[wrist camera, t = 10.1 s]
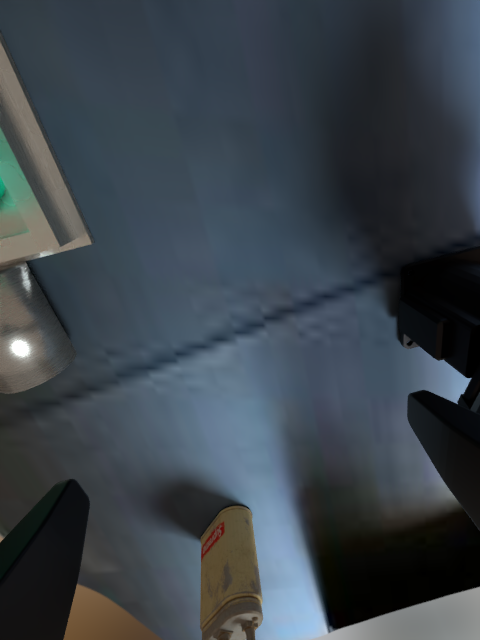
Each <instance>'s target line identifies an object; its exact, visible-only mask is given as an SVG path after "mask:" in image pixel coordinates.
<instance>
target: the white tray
mask: <svg viewBox="0 0 480 640" xmlns="http://www.w3.org/2000/svg"><path fill="white" fill-rule="evenodd" d="M0 177H1V179H2V181H3V183H4V185H5V189H4V195H3V196H2V197H1V198H0V392H1V393H4V394H11V393H17V392H21V391H24V390H27V389H30V388H33V387H35V386H37V385H40V384H42V383H44V382H46V381H47V380H49V379H51V378H53V377H54V376H56V375H57V374H59V373H60V372H62V371H63V370H64V369H66V368H67V367H68V366H69V365H70V364H71V363H72V362H73V360H74V359H75V357H76V354H77V353H76V350H75V349H74V347H73V345H72V343H71V341H70V340H69V338H68V336H67V334H66V333H65V331H64V329H63V327H62V326H61V324H60V322H59V320H58V319H57V317H56V315H55V313H54V311H53V310H52V308H51V306H50V304H49V303H48V301H47V299H46V297H45V296H44V294H43V292H42V290H41V288H40V287H39V285H38V283H37V281H36V280H35V278H34V276H33V274H32V273H31V271H30V269H29V267H28V266H27V264H26V262H25V261H28V260H32V259H36V258H40V257H44V256H48V255H51V254H55V253H59V252H63V251H67V250H71V249H75V248H78V247H82V246H86V245H90V244H93V243H94V242H95V241H94V239H93V237H92V235H91V232H90V230H89V228H88V226H87V223H86V221H85V219H84V217H83V215H82V212H81V210H80V208H79V206H78V203H77V201H76V199H75V197H74V194H73V192H72V190H71V188H70V185H69V183H68V181H67V179H66V176H65V174H64V172H63V170H62V168H61V165H60V163H59V161H58V159H57V156H56V154H55V152H54V150H53V147H52V145H51V143H50V141H49V138H48V136H47V134H46V132H45V129H44V127H43V125H42V123H41V121H40V118H39V116H38V114H37V112H36V109H35V107H34V105H33V103H32V100H31V98H30V96H29V94H28V91H27V89H26V87H25V85H24V83H23V80H22V78H21V76H20V74H19V71H18V69H17V67H16V65H15V62H14V60H13V58H12V56H11V53H10V51H9V49H8V47H7V44H6V42H5V40H4V38H3V36H2V33H1V31H0Z"/></svg>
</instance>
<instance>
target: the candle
mask: <svg viewBox="0 0 480 640" xmlns="http://www.w3.org/2000/svg"><path fill="white" fill-rule="evenodd" d="M4 189H5V185H4V183H3V181H2V179H1V177H0V198H1V197H2V196H3V195H4Z"/></svg>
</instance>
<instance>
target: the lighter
mask: <svg viewBox="0 0 480 640" xmlns="http://www.w3.org/2000/svg"><path fill="white" fill-rule="evenodd" d="M262 601H263V600H262V592H261V585H260V577H259V569H258V562H257V554H256V547H255V539H254V531H253V524H252V513H251V511H250V510H249V509H248V508H246V507H243V506H231V507H228V508H225V509H223V510H222V511H220V513H219V514H218V515H217V517H216V518H215V519H214V520H213V522H212V523H211V524H210V526H209V527H208V528H207V530H206V531H205V532H204V534H203V535H202V536H201V613H200V629H201V631H202V640H245V639H246V638H247V640H255V630H256V629H257V628H258V627H259V626H260V625H261V623H262V620H263V614H262V607H261V604H262Z"/></svg>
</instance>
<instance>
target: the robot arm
mask: <svg viewBox="0 0 480 640" xmlns="http://www.w3.org/2000/svg"><path fill="white" fill-rule="evenodd" d="M410 270H412V272H411V273H410V274H409V275H408V272H409V271H410ZM399 330H400V342H401V345H402V346H403V347H405V348H406V349H411V348H414V347H418V346H420V347H421V348H422V349H423V350H425V351H426V352H427V353H428V354H430V355H431V356H432V357H433V358H435V359H436V360H438V361H440V360H445V361H446V362H447V363H448V364H450V365H451V366H452V367H453V368H455V369H456V370H457V371H459V372H460V373H461V374H462V375H464V376H465V377H466V378H471V380H470V382H469V384H468V386H467V388H466V390H465V392H464V394H461V396H460V398H459V400H458V402H457V403H458V404H456V403H454V402H451V401H449V400H447V399H445V398H443V397H440V396H438V395H436V394H434V393H431V392H429V391H426V390H421V391H417V392H413V393H410V394H409V395H408V409H407V417H408V421H409V424H410V426H411V427H412V429H413V431H414V432H415V434H416V436H417V438H418V439H419V441H420V443H421V444H422V446H423V448H424V449H425V451H426V453H427V454H428V456H429V458H430V459H431V461H432V463H433V464H434V466H435V468H436V469H437V471H438V473H439V474H440V476H441V477H442V479H443V481H444V482H445V484H446V485H447V486H448V488H449V489H450V491H451V492H452V493H453V495H454V496H455V498H456V499H457V500H458V502H459V503H460V504H461V506H462V507H463V508H464V510H465V511H466V513H467V514H468V515H469V517H470V518H471V519H472V521H473V522H474V523H475V525H476V526H477V528H478V529H479V530H480V246H478V247H474V248H470V249H466V250H462V251H458V252H454V253H450V254H446V255H443V256H439V257H435V258H431V259H427V260H423V261H419V262H415V263H411V264H408V265H406V266H404V267H403V269H402V270H401V297H400V299H399ZM409 340H410V341H409ZM408 341H409V342H408ZM407 342H408V343H407ZM89 508H90V501H89V497H88V495H87V494H86V493H85V491H84V490H83V489H82V487H81V486H80V485H79V483H78V482H77V481H76V480H75V479H69V480H65V481H61V482H58V483H57V484H55V485H54V486H53V487H52V488H51V490H50V491H49V492H48V493H47V494H46V495H45V496H44V497H43V498H42V499H41V500H40V501H39V502H38V503H37V504H36V505H35V506H34V507H33V509H32V510H31V511H30V512H29V513H28V514H27V515H26V516H25V517H24V518H23V519H22V520H21V521H20V522H19V523H18V524H17V525H16V527H15V528H14V529H13V530H12V531H11V532H10V533H9V534H8V535H7V536H6V537H5V538H4V539H3V540H2V541H1V542H0V640H63V639H64V635H65V630H66V626H67V622H68V618H69V614H70V610H71V606H72V602H73V597H74V594H75V589H76V585H77V581H78V576H79V572H80V566H81V561H82V554H83V548H84V541H85V534H86V528H87V521H88V515H89Z"/></svg>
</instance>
